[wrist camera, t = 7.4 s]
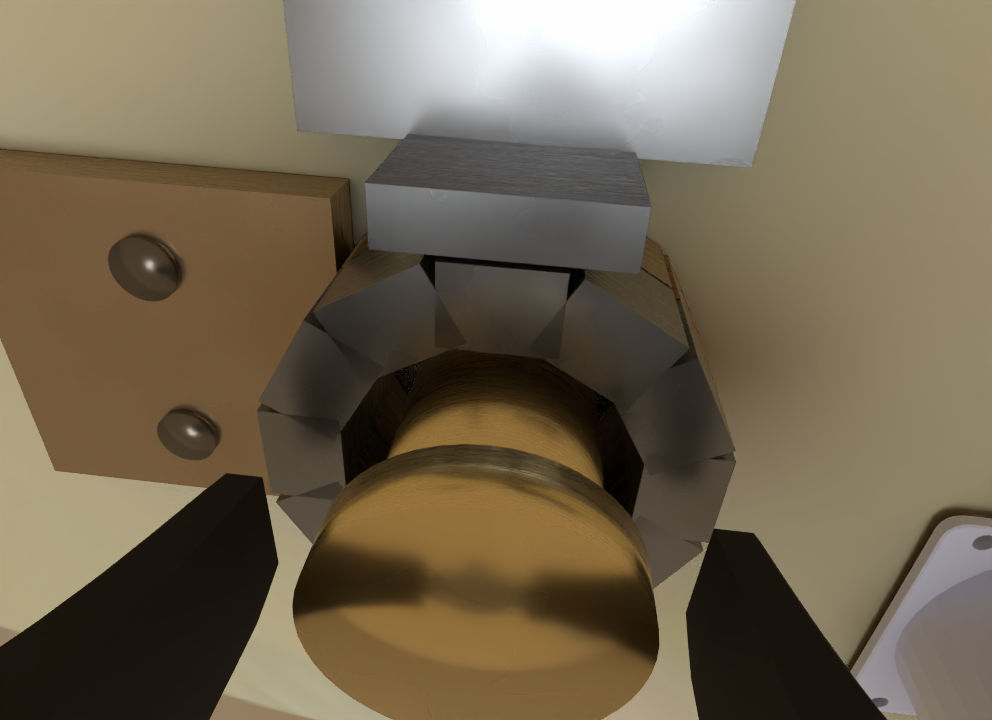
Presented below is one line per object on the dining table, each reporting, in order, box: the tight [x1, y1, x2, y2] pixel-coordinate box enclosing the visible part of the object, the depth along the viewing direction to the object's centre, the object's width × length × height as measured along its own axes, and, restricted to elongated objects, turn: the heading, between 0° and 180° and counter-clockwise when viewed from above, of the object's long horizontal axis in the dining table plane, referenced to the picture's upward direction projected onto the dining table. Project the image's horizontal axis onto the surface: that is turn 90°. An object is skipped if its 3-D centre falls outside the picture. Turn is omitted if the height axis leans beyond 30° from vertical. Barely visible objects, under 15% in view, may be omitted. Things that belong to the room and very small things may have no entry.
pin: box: [293, 349, 659, 720], centre depth 12 cm, size 5×5×7 cm
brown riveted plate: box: [0, 149, 713, 496], centre depth 15 cm, size 16×8×2 cm, turn 87°
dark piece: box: [257, 0, 796, 589], centre depth 11 cm, size 8×17×4 cm, turn 177°
